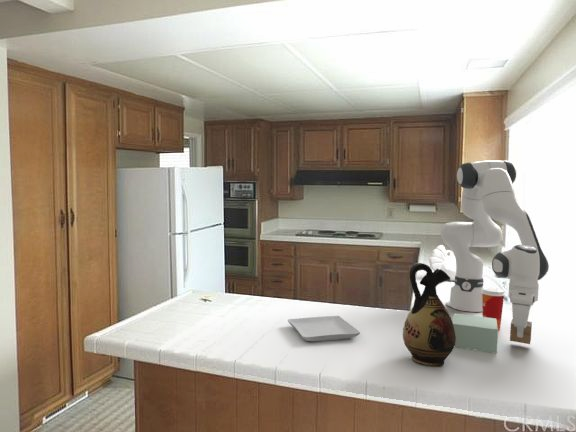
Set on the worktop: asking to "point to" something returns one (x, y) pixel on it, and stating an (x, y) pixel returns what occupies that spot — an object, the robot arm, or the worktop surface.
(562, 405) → the worktop surface
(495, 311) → the coffee cup
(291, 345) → the worktop surface
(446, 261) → the decorative rooster
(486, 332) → the sage box
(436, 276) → the ceramic jug
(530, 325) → the walnut block
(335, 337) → the salad plate
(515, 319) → the robot arm
